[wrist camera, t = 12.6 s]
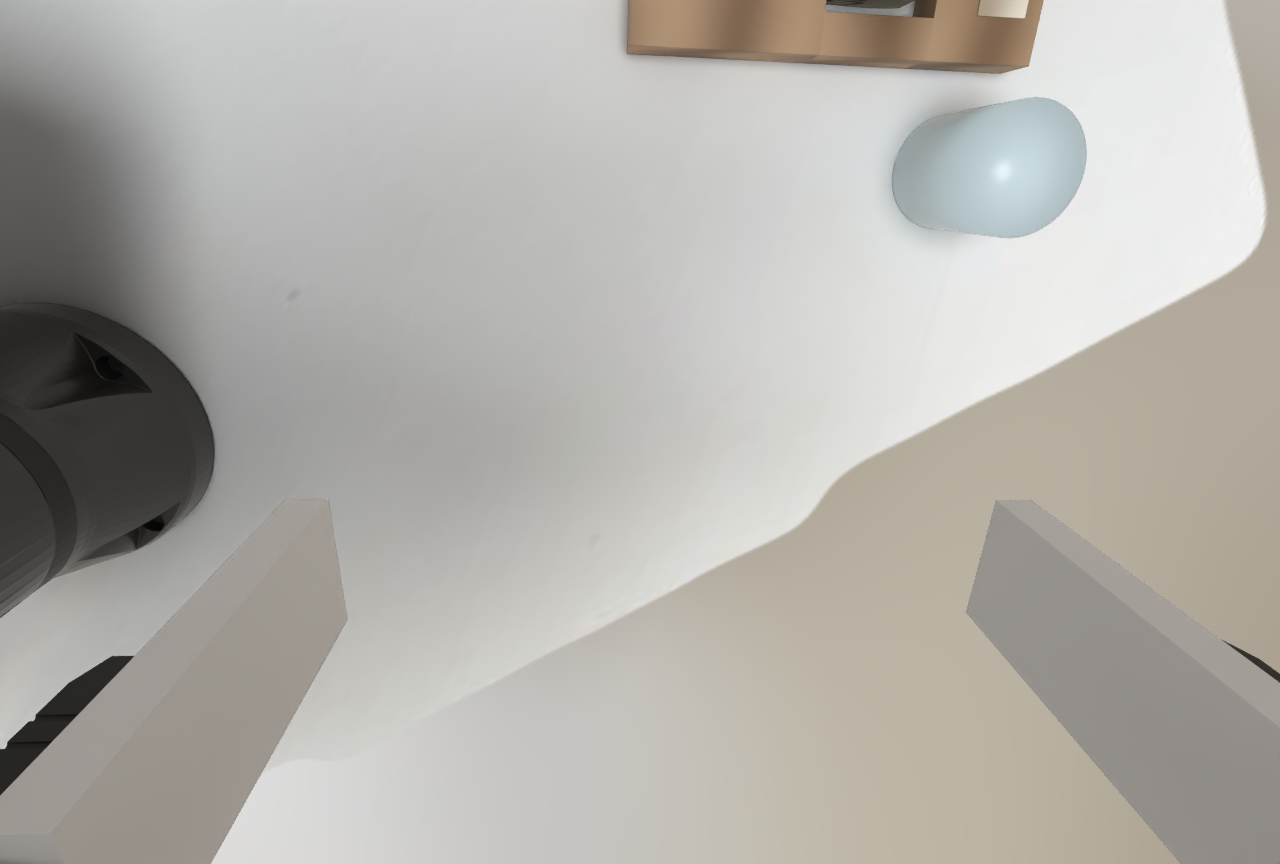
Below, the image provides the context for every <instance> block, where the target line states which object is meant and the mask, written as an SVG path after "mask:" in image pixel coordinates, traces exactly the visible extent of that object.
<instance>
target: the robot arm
mask: <svg viewBox="0 0 1280 864" xmlns="http://www.w3.org/2000/svg"><path fill="white" fill-rule="evenodd" d="M212 466H213V443H212V437H211V432H210V428H209V424H208V421H207V418H206V415H205V413H204V411H203V408H202V406H201V404H200V402H199V400H198V398H197V396H196V395H195V393H194V392H193V390H192V388H191V387H190V385H189V384H188V383H187V381H186V380H185V378H184V377H183V376H182V375H181V373H180V372H179V371H178V370H177V369H176V368H175V367H174V366H173V364H172V363H171V362H170V361H169V360H168V359H167V358H166V357H165V356H164V355H162V354H161V353H160V352H159V351H158V350H157V349H155V348H154V347H153V346H152V345H150V344H149V343H148V342H146V341H145V340H144V339H142V338H141V337H139V336H138V335H136V334H135V333H133V332H131V331H130V330H128V329H126V328H125V327H123V326H121V325H119V324H117V323H115V322H113V321H111V320H108V319H106V318H104V317H101V316H99V315H96V314H94V313H91V312H87V311H84V310H81V309H77V308H73V307H68V306H63V305H57V304H48V303H22V304H13V305H7V306H2V307H0V618H1V617H2V616H3V615H5V614H6V613H7V612H9V611H10V610H11V609H13V608H14V607H15V606H16V605H18V604H19V603H20V602H22V601H23V600H24V599H26V598H27V597H28V596H30V595H31V594H32V593H33V592H35V591H36V590H37V589H39V588H40V587H41V586H43V585H44V584H45V583H47V582H48V581H50V580H51V579H53V578H55V577H58V576H61V575H64V574H67V573H70V572H73V571H76V570H79V569H82V568H85V567H88V566H91V565H94V564H97V563H100V562H103V561H106V560H109V559H112V558H115V557H118V556H121V555H124V554H127V553H130V552H133V551H135V550H138V549H140V548H142V547H144V546H146V545H148V544H150V543H152V542H153V541H155V540H156V539H158V538H160V537H161V536H162V535H164V534H165V533H166V532H167V531H169V530H170V529H171V528H172V527H174V526H175V525H176V524H177V523H178V522H180V521H181V520H182V519H183V518H184V517H186V516H187V515H188V514H189V513H190V512H191V511H192V510H193V509H194V507H195V506H196V505H197V504H198V502H199V501H200V499H201V498H202V496H203V494H204V492H205V490H206V488H207V485H208V483H209V480H210V476H211V472H212ZM966 613H967V614H968V615H969V617H970V618H971V619H972V620H973V621H974V622H975V624H976V625H977V626H978V627H979V628H980V629H981V630H982V632H983V633H984V634H985V635H986V636H987V637H988V639H989V640H990V641H991V642H992V643H993V645H994V646H995V647H996V648H997V649H998V650H999V651H1000V653H1001V654H1002V655H1003V656H1004V657H1005V659H1006V660H1007V661H1008V662H1009V663H1010V665H1011V666H1012V667H1013V668H1014V669H1015V670H1016V672H1017V673H1018V674H1019V675H1020V676H1021V677H1022V679H1023V680H1024V681H1025V682H1026V683H1027V684H1028V686H1029V687H1030V688H1031V689H1032V690H1033V691H1034V693H1035V694H1036V695H1037V696H1038V697H1039V698H1040V700H1041V701H1042V702H1043V703H1044V704H1045V706H1046V707H1047V708H1048V709H1049V710H1050V711H1051V713H1052V714H1053V715H1054V716H1055V717H1056V718H1057V720H1058V721H1059V722H1060V723H1061V724H1062V725H1063V727H1064V728H1065V729H1066V730H1067V731H1068V732H1069V734H1070V735H1071V736H1072V737H1073V738H1074V739H1075V740H1076V742H1077V743H1078V744H1079V745H1080V746H1081V748H1082V749H1083V750H1084V751H1085V752H1086V753H1087V755H1088V756H1089V757H1090V758H1091V759H1092V761H1093V762H1094V763H1095V764H1096V765H1097V766H1098V768H1100V770H1101V771H1102V772H1103V773H1104V775H1105V776H1106V777H1107V778H1108V779H1109V780H1110V781H1111V783H1112V784H1113V785H1114V786H1115V787H1116V788H1117V790H1118V791H1119V792H1120V793H1121V794H1122V796H1123V797H1124V798H1125V799H1126V800H1127V801H1128V803H1129V804H1130V805H1131V806H1132V807H1133V808H1134V810H1135V811H1136V812H1137V813H1138V814H1139V816H1140V817H1141V818H1142V819H1143V820H1144V821H1145V823H1146V824H1147V825H1148V826H1149V827H1150V828H1151V830H1152V831H1153V832H1154V833H1155V834H1156V835H1157V837H1159V839H1160V840H1161V841H1162V842H1163V844H1164V845H1165V846H1166V847H1167V848H1168V849H1169V851H1170V852H1171V853H1172V854H1173V855H1174V856H1175V858H1176V859H1177V860H1178V861H1179V862H1180V863H1181V864H1280V674H1279V673H1278V672H1276V671H1275V670H1273V669H1272V668H1271V667H1269V666H1268V665H1267V664H1265V663H1264V662H1263V661H1261V660H1260V659H1258V658H1256V657H1254V656H1252V655H1250V654H1248V653H1247V652H1245V651H1243V650H1241V649H1239V648H1237V647H1235V646H1233V645H1231V644H1229V643H1227V642H1225V641H1223V640H1221V639H1220V638H1218V637H1217V636H1216V635H1214V634H1213V633H1211V632H1210V631H1209V630H1208V629H1206V628H1205V627H1203V626H1202V625H1201V624H1199V623H1198V622H1196V621H1195V620H1194V619H1192V618H1191V617H1190V616H1188V615H1187V614H1186V613H1184V612H1183V611H1182V610H1180V609H1179V608H1178V607H1176V606H1175V605H1174V604H1172V603H1171V602H1169V601H1168V600H1167V599H1165V598H1164V597H1163V596H1161V595H1160V594H1159V593H1157V592H1156V591H1154V590H1153V589H1152V588H1151V587H1149V586H1148V585H1146V584H1145V583H1144V582H1142V581H1141V580H1139V579H1138V578H1137V577H1136V576H1134V575H1133V574H1132V573H1130V572H1129V571H1127V570H1126V569H1125V568H1123V567H1122V566H1121V565H1119V564H1118V563H1117V562H1115V561H1114V560H1112V559H1111V558H1110V557H1108V556H1107V555H1106V554H1104V553H1103V552H1102V551H1100V550H1099V549H1097V548H1096V547H1095V546H1093V545H1092V544H1091V543H1089V542H1088V541H1087V540H1085V539H1084V538H1082V537H1081V536H1080V535H1078V534H1077V533H1076V532H1075V531H1073V530H1072V529H1070V528H1069V527H1068V526H1066V525H1065V524H1064V523H1062V522H1061V521H1060V520H1058V519H1057V518H1056V517H1054V516H1053V515H1051V514H1050V513H1048V512H1047V511H1046V510H1044V509H1043V508H1042V507H1041V506H1039V505H1038V504H1036V503H1035V502H1034V501H1032V500H996V502H995V505H994V509H993V513H992V516H991V520H990V524H989V528H988V532H987V535H986V539H985V543H984V546H983V550H982V554H981V558H980V561H979V565H978V569H977V573H976V576H975V580H974V584H973V588H972V591H971V595H970V599H969V602H968V606H967V610H966ZM346 621H347V613H346V607H345V601H344V594H343V588H342V582H341V575H340V569H339V563H338V557H337V550H336V544H335V538H334V531H333V525H332V519H331V512H330V506H329V500H328V499H285V500H284V501H283V502H282V504H281V505H280V506H279V507H278V508H277V509H276V510H275V511H274V512H273V513H272V514H271V515H270V516H269V517H268V518H267V519H266V520H265V521H264V522H263V523H262V524H261V525H260V526H259V527H258V528H257V530H256V531H255V532H254V533H253V534H252V535H251V536H250V537H249V538H248V539H247V540H246V541H245V542H244V543H243V544H242V545H241V546H240V547H239V548H238V549H237V550H236V551H235V552H234V553H233V554H232V555H231V557H230V558H229V559H228V560H227V561H226V562H225V563H224V564H223V565H222V566H221V567H220V568H219V569H218V570H217V571H216V572H215V573H214V574H213V575H212V576H211V577H210V578H209V579H208V580H207V581H206V582H205V584H204V585H203V586H202V587H201V588H200V589H199V590H198V591H197V592H196V593H195V594H194V595H193V596H192V597H191V598H190V599H189V600H188V601H187V602H186V603H185V604H184V605H183V606H182V607H181V608H180V609H179V611H178V612H177V613H176V614H175V615H174V616H173V617H172V618H171V619H170V620H169V621H168V622H167V623H166V624H165V625H164V626H163V627H162V628H161V629H160V630H159V631H158V632H157V633H156V634H155V635H154V637H153V638H152V639H151V640H150V641H149V642H148V643H147V644H146V645H145V646H144V647H143V648H142V649H141V650H140V651H139V652H138V653H137V654H136V655H135V656H112V657H110V658H108V659H107V660H105V661H104V662H102V663H100V664H99V665H97V666H96V667H94V668H92V669H91V670H89V671H88V672H86V673H84V674H83V675H81V676H80V677H78V678H76V679H75V680H73V681H71V682H70V683H68V684H67V685H66V686H65V687H64V688H63V689H62V690H61V691H60V692H59V693H58V694H57V695H56V696H55V697H54V698H53V699H52V700H51V701H50V702H49V703H48V704H47V705H46V706H44V707H43V708H42V709H41V710H40V711H39V712H38V713H37V714H36V718H35V720H34V721H29V722H28V723H27V724H26V725H25V726H24V727H23V728H22V729H21V730H19V731H18V732H17V733H16V734H15V735H14V736H13V737H12V738H11V739H10V740H9V741H8V742H7V747H6V748H5V749H0V864H211V862H212V861H213V859H214V857H215V855H216V853H217V852H218V850H219V848H220V846H221V845H222V843H223V841H224V839H225V837H226V836H227V834H228V832H229V830H230V829H231V827H232V825H233V823H234V821H235V820H236V818H237V816H238V814H239V812H240V811H241V809H242V807H243V805H244V803H245V802H246V800H247V798H248V796H249V794H250V793H251V791H252V789H253V787H254V786H255V784H256V782H257V780H258V779H259V777H260V775H261V773H262V771H263V770H264V768H265V766H266V764H267V762H268V761H269V759H270V757H271V755H272V754H273V752H274V750H275V748H276V746H277V745H278V743H279V741H280V739H281V737H282V736H283V734H284V732H285V730H286V729H287V727H288V725H289V723H290V721H291V720H292V718H293V716H294V714H295V712H296V711H297V709H298V707H299V705H300V704H301V702H302V700H303V698H304V696H305V695H306V693H307V691H308V689H309V687H310V686H311V684H312V682H313V680H314V679H315V677H316V675H317V673H318V671H319V670H320V668H321V666H322V664H323V662H324V661H325V659H326V657H327V655H328V654H329V652H330V650H331V648H332V646H333V645H334V643H335V641H336V639H337V637H338V636H339V634H340V632H341V630H342V629H343V627H344V625H345V623H346Z"/></svg>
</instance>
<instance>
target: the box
mask: <svg viewBox="0 0 1280 864" xmlns="http://www.w3.org/2000/svg"><path fill="white" fill-rule="evenodd" d="M912 1H914V0H826V3H827V4H838V5H847V6H859V7H875V8H899V7H902V6H904V5H906V4H908V3H910V2H912Z"/></svg>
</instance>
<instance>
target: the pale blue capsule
mask: <svg viewBox="0 0 1280 864" xmlns="http://www.w3.org/2000/svg"><path fill="white" fill-rule="evenodd" d="M1086 153H1087V150H1086V140H1085V136H1084V132H1083V130H1082V127H1081V125H1080V123H1079V121H1078V119H1077V118H1076V117H1075V115H1074V114H1073V113H1072V112H1071V111H1070V110H1069V109H1068V108H1067V107H1065V106H1064V105H1062V104H1061V103H1059V102H1057V101H1054V100H1051V99H1047V98H1039V97H1033V98H1025V99H1020V100H1015V101H1010V102H1005V103H999V104H994V105H989V106H984V107H979V108H974V109H969V110H964V111H959V112H954V113H949V114H944V115H940V116H937V117H934V118H932V119H930V120H928V121H926V122H925V123H923V124H922V125H920V126H919V127H918V128H917V129H916V130H914V131H913V132H912V134H911V135H910V136H909V137H908V138H907V139H906V141H905V142H904V144H903V145H902V147H901V149H900V151H899V153H898V155H897V158H896V161H895V164H894V169H893V175H892V187H893V193H894V197H895V200H896V203H897V205H898V207H899V209H900V210H901V211H902V213H903V214H904V215H905V216H906V217H907V218H908V219H909V220H910V221H912V222H913V223H915V224H917V225H919V226H922V227H925V228H931V229H938V230H946V231H954V232H961V233H969V234H976V235H984V236H992V237H999V238H1018V237H1022V236H1026V235H1029V234H1032V233H1034V232H1036V231H1038V230H1040V229H1042V228H1044V227H1045V226H1047V225H1048V224H1050V223H1051V222H1052V221H1053V220H1055V219H1056V218H1057V217H1058V216H1059V215H1060V214H1061V213H1062V212H1063V211H1064V210H1065V208H1066V207H1067V206H1068V205H1069V203H1070V202H1071V200H1072V199H1073V197H1074V196H1075V194H1076V192H1077V190H1078V188H1079V185H1080V183H1081V180H1082V178H1083V174H1084V170H1085V165H1086Z"/></svg>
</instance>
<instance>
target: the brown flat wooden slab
mask: <svg viewBox="0 0 1280 864" xmlns="http://www.w3.org/2000/svg"><path fill="white" fill-rule="evenodd" d="M1042 5H1043V0H916V3H915V9H914V15H913V17H903V16H886V15H870V14H853V13H836V12H825V7H826V0H628V39H627V54H642V55H660V56H679V57H698V58H717V59H736V60H755V61H773V62H792V63H811V64H830V65H849V66H868V67H887V68H905V69H924V70H943V71H962V72H981V73H1000V74H1001V73H1005V72H1008V71H1012V70H1016V69H1020V68H1024V67H1028V66H1029V62H1030V58H1031V54H1032V49H1033V45H1034V40H1035V36H1036V31H1037V27H1038V23H1039V18H1040V14H1041V9H1042Z"/></svg>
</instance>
